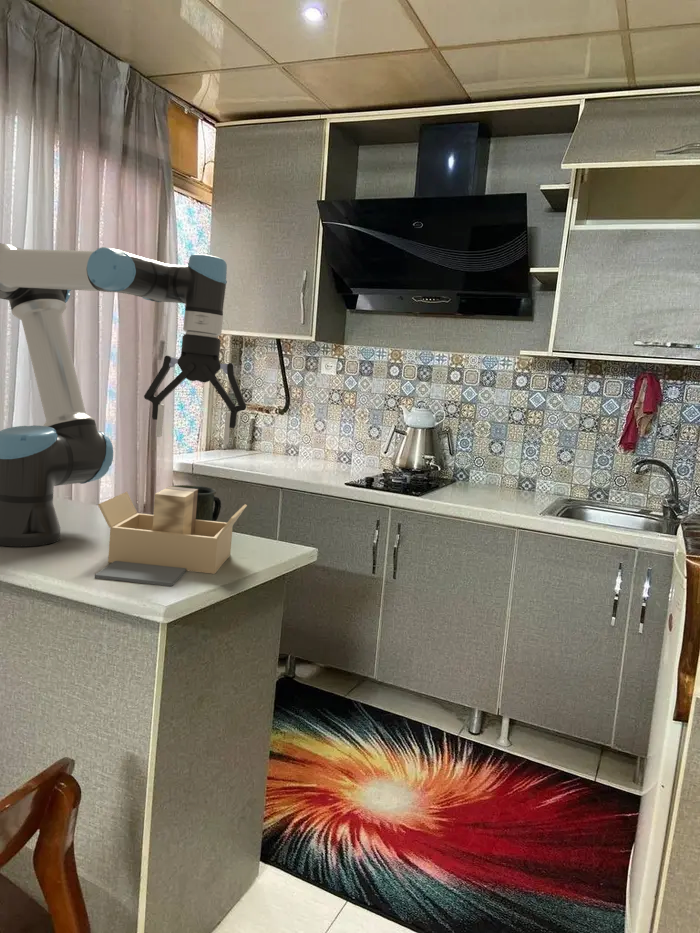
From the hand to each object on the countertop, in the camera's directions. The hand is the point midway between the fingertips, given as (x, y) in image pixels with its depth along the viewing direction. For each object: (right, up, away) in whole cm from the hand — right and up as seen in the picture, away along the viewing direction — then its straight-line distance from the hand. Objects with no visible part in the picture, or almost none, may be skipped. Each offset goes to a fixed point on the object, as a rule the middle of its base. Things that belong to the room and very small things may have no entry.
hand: (192, 440), depth 145 cm
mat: (-7, -26, -12) cm, 29 cm away
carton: (-4, -24, +1) cm, 25 cm away
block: (-4, -24, +1) cm, 25 cm away
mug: (-4, -23, +17) cm, 29 cm away
